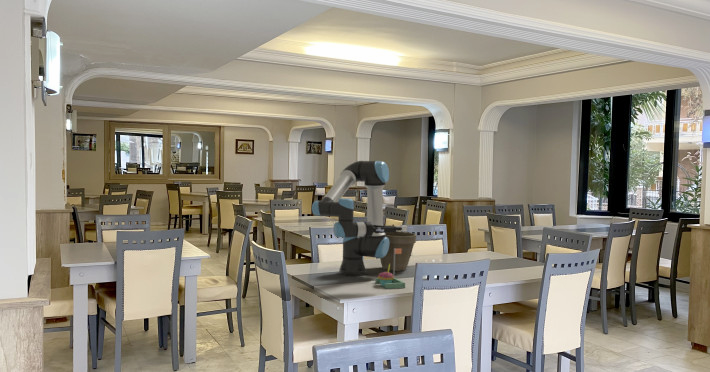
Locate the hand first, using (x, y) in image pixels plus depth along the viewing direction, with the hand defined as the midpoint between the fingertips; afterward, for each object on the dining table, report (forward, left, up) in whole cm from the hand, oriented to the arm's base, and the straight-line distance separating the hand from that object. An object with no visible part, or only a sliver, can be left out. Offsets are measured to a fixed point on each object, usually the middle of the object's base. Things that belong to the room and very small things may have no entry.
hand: (406, 228), depth 292 cm
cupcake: (-10, -3, -30) cm, 32 cm away
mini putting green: (-6, 0, -30) cm, 30 cm away
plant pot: (-4, +46, -30) cm, 55 cm away
